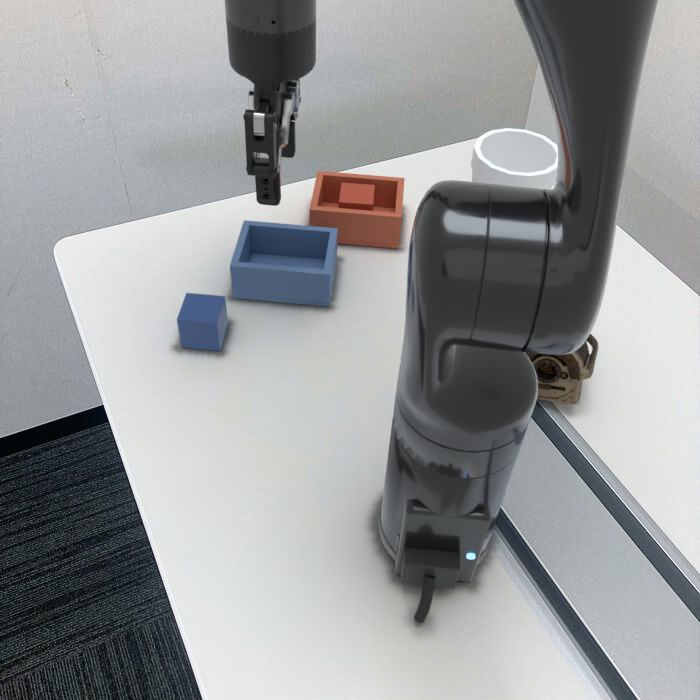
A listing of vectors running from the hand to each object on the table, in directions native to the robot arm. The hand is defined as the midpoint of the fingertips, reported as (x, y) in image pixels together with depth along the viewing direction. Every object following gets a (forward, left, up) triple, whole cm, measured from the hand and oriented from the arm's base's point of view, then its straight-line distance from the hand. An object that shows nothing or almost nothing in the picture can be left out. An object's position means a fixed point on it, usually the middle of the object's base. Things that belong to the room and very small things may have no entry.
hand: (277, 178), depth 74 cm
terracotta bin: (+12, -7, -14) cm, 20 cm away
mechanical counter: (-9, -29, -14) cm, 34 cm away
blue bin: (+1, 0, -14) cm, 14 cm away
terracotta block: (+12, -7, -13) cm, 19 cm away
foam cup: (+10, -24, -14) cm, 30 cm away
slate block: (-9, +7, -14) cm, 18 cm away
